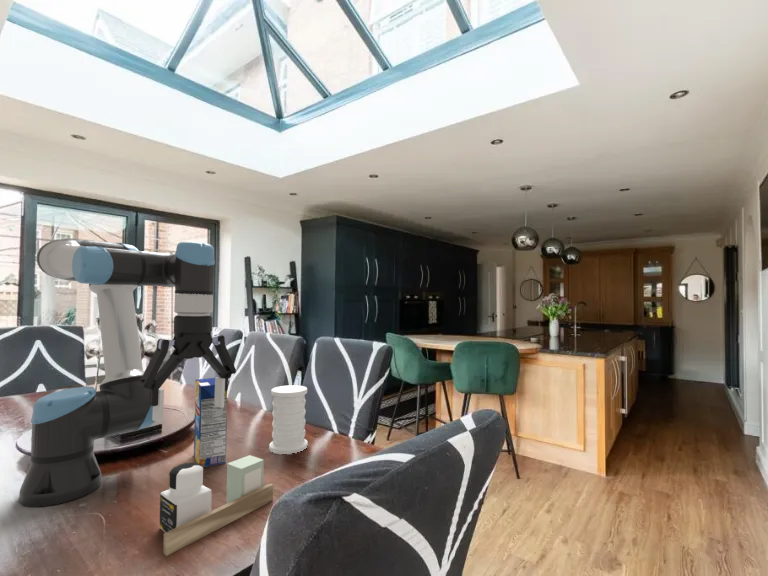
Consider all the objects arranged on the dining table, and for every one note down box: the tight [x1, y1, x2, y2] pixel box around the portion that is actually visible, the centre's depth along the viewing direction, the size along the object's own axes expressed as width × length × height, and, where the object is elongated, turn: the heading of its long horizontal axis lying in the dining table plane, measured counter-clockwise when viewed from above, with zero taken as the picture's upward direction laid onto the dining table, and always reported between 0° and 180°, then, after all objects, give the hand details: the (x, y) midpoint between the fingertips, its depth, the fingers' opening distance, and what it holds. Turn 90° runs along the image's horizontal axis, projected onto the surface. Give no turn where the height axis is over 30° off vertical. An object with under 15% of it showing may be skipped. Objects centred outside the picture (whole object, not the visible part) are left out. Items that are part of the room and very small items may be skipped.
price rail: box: [162, 483, 274, 557], centre depth 81 cm, size 2×24×4 cm, turn 147°
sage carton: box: [226, 454, 265, 504], centre depth 90 cm, size 5×6×9 cm
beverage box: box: [193, 377, 228, 468], centre depth 115 cm, size 7×11×22 cm, turn 32°
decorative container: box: [268, 384, 309, 455], centre depth 124 cm, size 12×12×18 cm
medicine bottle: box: [159, 461, 213, 533], centre depth 80 cm, size 7×7×12 cm
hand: (190, 413), depth 86 cm, fingers open, 13 cm apart
